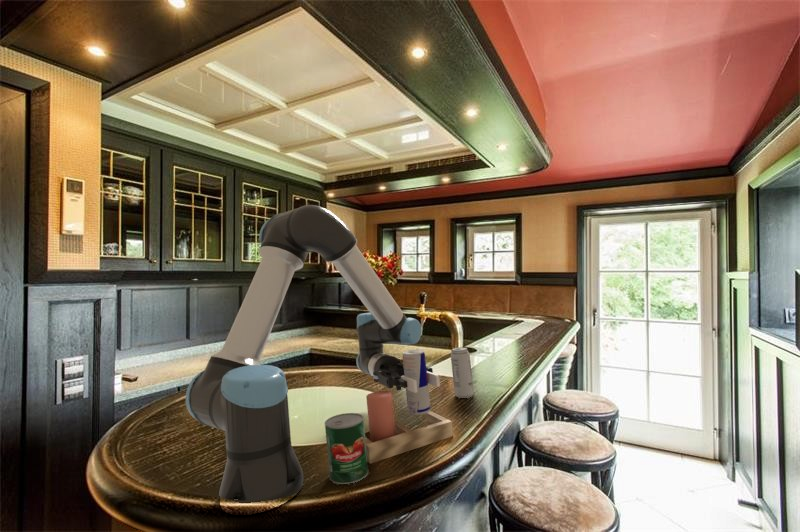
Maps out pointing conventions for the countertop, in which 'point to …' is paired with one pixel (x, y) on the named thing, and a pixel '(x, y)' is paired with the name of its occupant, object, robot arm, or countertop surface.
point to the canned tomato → (346, 448)
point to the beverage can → (417, 371)
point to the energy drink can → (462, 372)
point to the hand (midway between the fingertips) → (426, 383)
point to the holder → (409, 438)
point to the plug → (380, 415)
